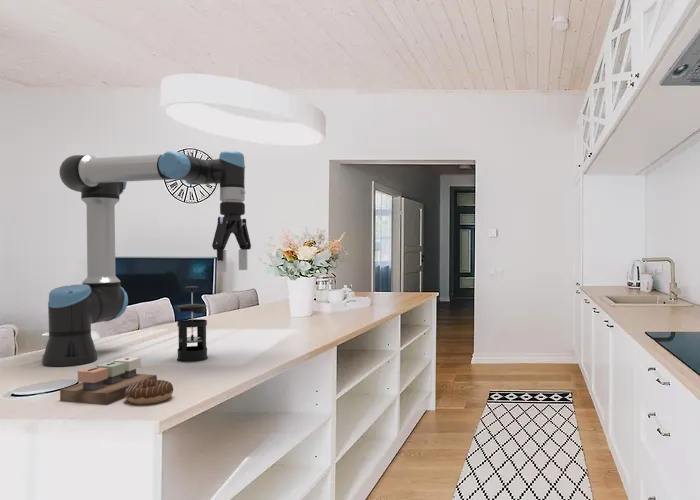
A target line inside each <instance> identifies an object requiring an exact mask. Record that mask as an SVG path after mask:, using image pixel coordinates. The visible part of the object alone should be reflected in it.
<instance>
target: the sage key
mask: <svg viewBox="0 0 700 500" xmlns="http://www.w3.org/2000/svg"><path fill="white" fill-rule="evenodd" d="M96 367H98V368H108V377H113V376H116V375H119V374H122V373H125V363H119V362H114V361H107V362H105V363H101V364H97V365H96Z"/></svg>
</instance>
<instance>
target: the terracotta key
mask: <svg viewBox="0 0 700 500" xmlns="http://www.w3.org/2000/svg"><path fill="white" fill-rule="evenodd" d="M107 378H108V368H98V367H94V366H93V367H92V366H91V367H88V368H84V369H81V370H78V371H77V383H82V382H88V383H96V382H99V381H102V380H105V379H107Z"/></svg>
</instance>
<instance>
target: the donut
mask: <svg viewBox="0 0 700 500" xmlns="http://www.w3.org/2000/svg"><path fill="white" fill-rule="evenodd" d="M173 393H174V386H173V384H172V382H170V381H168V380H164V379H163V380H161V379H157V380H149V379H148V380H142V381H139V382H136V383H134V384H132V385H130V386H129V387H128V388H127V389H126V391H125V394H124V395H125V399H126V400H127V402H129V403H130V404H134V405H152V404H157V403H162V402H164V401H167V400H168V399H169V398H171V396H172V395H173Z"/></svg>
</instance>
